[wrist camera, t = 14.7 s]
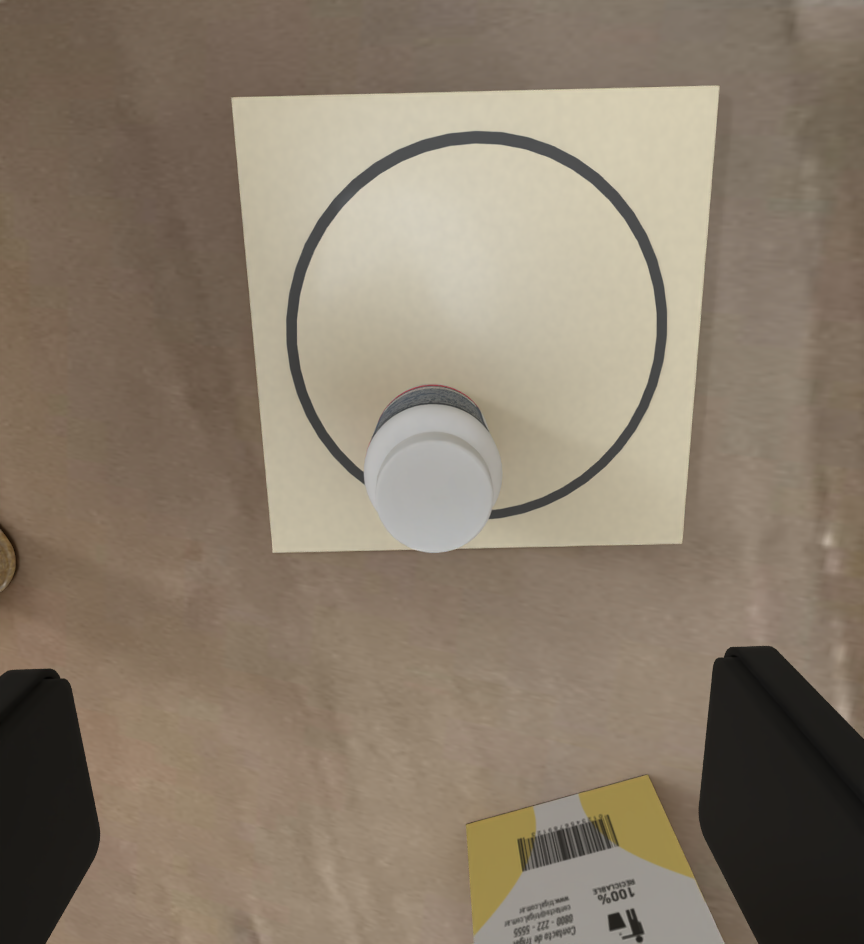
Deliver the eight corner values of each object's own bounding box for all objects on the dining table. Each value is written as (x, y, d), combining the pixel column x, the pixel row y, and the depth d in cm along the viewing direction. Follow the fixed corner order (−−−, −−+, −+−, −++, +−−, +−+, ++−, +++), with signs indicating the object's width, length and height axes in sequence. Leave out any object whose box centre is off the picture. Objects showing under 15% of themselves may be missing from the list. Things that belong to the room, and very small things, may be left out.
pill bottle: (357, 408, 30) (328, 453, 21) (464, 364, 29) (478, 393, 21) (402, 510, 31) (392, 591, 23) (505, 470, 31) (534, 538, 22)
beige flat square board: (234, 100, 27) (229, 95, 27) (714, 89, 27) (722, 83, 27) (275, 548, 33) (271, 554, 32) (678, 539, 32) (684, 545, 32)
